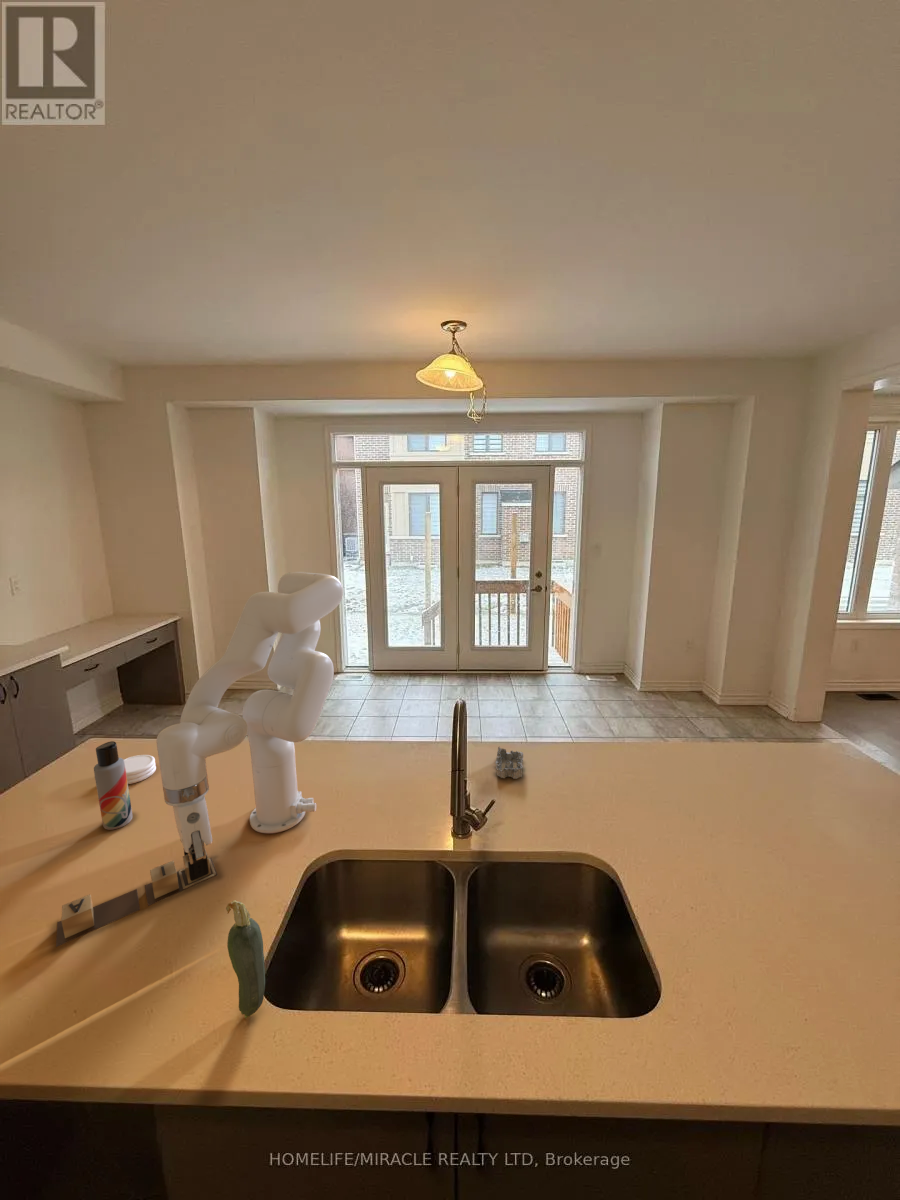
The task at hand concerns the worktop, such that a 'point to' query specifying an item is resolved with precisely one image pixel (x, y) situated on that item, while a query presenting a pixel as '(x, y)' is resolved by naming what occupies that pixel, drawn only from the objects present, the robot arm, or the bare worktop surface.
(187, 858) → the tile
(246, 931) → the vegetable
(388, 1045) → the worktop surface
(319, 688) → the robot arm
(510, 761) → the egg carton
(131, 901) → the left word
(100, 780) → the lotion bottle
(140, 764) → the coaster
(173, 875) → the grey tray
